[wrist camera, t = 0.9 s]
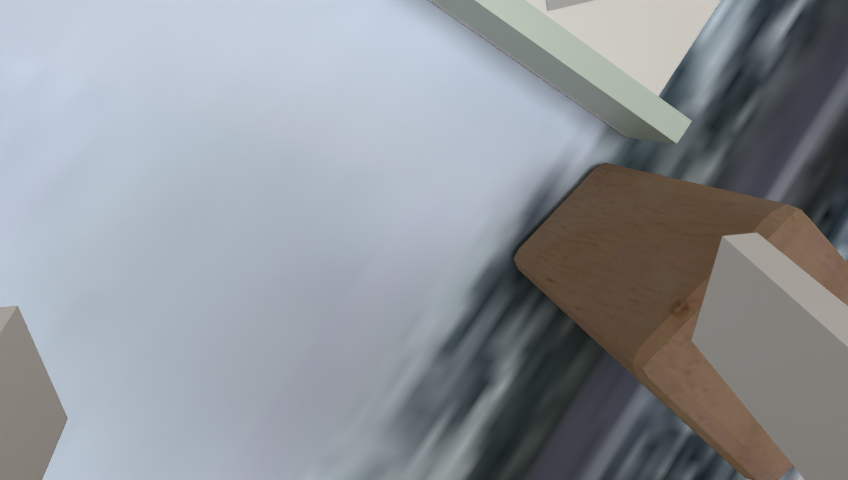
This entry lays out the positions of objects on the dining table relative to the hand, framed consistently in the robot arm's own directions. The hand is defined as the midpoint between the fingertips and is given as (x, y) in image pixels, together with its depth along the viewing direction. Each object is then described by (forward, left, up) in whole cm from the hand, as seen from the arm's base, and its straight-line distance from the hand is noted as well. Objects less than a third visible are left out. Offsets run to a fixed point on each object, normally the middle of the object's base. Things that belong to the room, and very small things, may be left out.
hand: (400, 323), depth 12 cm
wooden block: (-19, -4, -31) cm, 37 cm away
